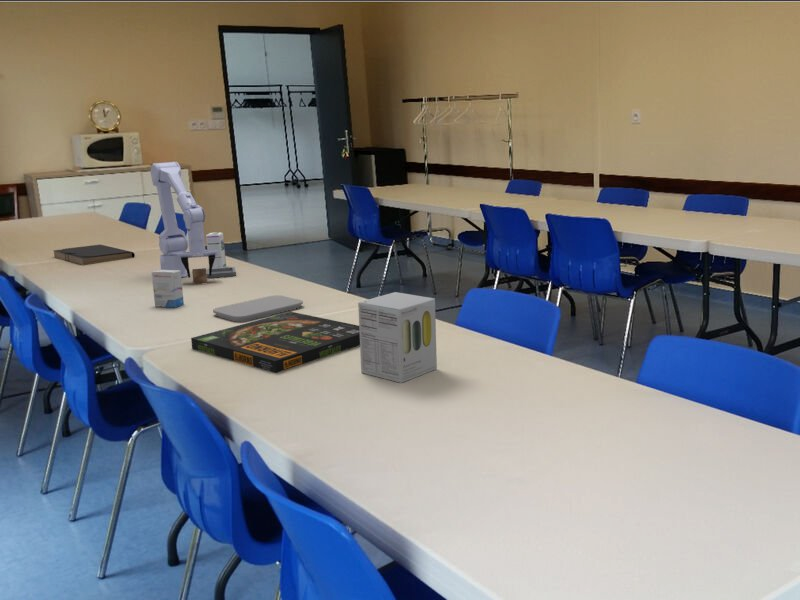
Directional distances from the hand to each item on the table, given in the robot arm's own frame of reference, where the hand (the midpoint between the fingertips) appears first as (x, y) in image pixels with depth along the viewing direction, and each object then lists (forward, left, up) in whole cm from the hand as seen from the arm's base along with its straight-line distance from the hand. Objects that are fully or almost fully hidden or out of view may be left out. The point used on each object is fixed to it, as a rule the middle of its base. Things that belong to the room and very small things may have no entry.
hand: (199, 276), depth 304 cm
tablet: (+18, -54, -3) cm, 57 cm away
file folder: (-47, +79, -3) cm, 92 cm away
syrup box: (+7, +27, -3) cm, 28 cm away
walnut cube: (0, 0, -3) cm, 3 cm away
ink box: (-10, -35, -3) cm, 36 cm away
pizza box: (+22, -95, -3) cm, 97 cm away
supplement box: (+46, -128, -3) cm, 136 cm away
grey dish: (+8, +12, -2) cm, 15 cm away
